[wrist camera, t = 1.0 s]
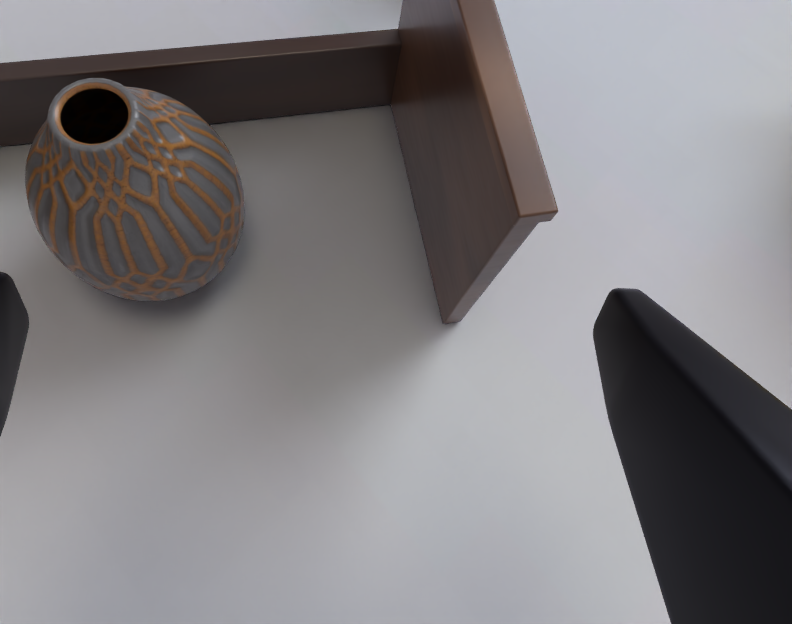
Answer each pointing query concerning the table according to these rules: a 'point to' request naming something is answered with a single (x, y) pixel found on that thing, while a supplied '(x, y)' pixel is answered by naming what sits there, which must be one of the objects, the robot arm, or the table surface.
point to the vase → (133, 191)
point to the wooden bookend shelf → (354, 88)
